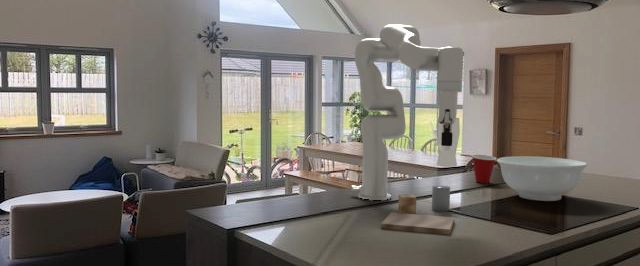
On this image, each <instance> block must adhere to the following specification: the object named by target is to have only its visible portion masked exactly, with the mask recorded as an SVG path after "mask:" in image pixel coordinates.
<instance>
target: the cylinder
mask: <svg viewBox="0 0 640 266" xmlns="http://www.w3.org/2000/svg"><path fill="white" fill-rule="evenodd" d="M431 190H432V191H431V195H432V196H431V210H432V211H434V212H439V213H442V212H443V213H445V212H450V203H451V198H450V197H451V187H450V186H448V185H440V184H439V185H432V189H431Z"/></svg>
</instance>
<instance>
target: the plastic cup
mask: <svg viewBox="0 0 640 266" xmlns="http://www.w3.org/2000/svg"><path fill="white" fill-rule="evenodd" d="M471 157H472V163H473V171H474V176H475V177H474V178H475V183H477V182H480V183H479V184H489V183H490V181H491V177H492V173H493V168H494V164H495V162H496V161H497V159H498V158H497V157H495V156H491V155H485V154H471ZM488 182H489V183H488Z"/></svg>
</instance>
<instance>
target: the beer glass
mask: <svg viewBox="0 0 640 266" xmlns="http://www.w3.org/2000/svg"><path fill="white" fill-rule="evenodd" d="M438 118H439V116H438V117H437V119H438ZM444 119H445V118H444ZM444 122H445V121H444ZM440 123H441V124H439V123H438V121H437V123H436V141H437V142H436V143H437V148H438V149H437V150H438V158H437V162H436V165H437V166H439V167H445V168H447V167H448V168H453V167H457V166H458V164H457V149H458V144H459V140H460V132H461V131H460V130H461V129H460V128H461V127H460V126H461V125H460V117H456V118H455V122H454V124H452V133H453V134H452V146H442V145H441V139H442V129H443V121H442V122H440ZM449 123H451V121H449Z"/></svg>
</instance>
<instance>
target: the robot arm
mask: <svg viewBox="0 0 640 266" xmlns="http://www.w3.org/2000/svg"><path fill="white" fill-rule="evenodd" d="M420 36H421V35H420V32H419V30H418V29H417V28H416V27H415V26H413V25H410V24H409V25H408V24H407V25H406V24H394V23H393V24H387V25H384V27H383V28H381V30H380V32H379V37H378V38H373V37H371V38H364V39H361V40H360V41H359V42H357V44H356V46H355V48H354V49H355V50H354V62H355V66H356V70H357V72H358V76H359V85H360V95H361V104H362V107H363V109H364V110H365V111H368V112H386V114H370V115H367V116H365V117H363V118H362V119H361V122H360V133H361V140H362V179H361V181H362V183H361V185H359V186H358V185H351V191H352V192H358V193H357V198H358V199H360V198H362V199H361V200H364V199H369V200H368V201H373V200H381V201H388V200H391V199H392V195H391V194H390V193H388V179H389V178H388V175H389V174H388V173H389V171H388V170H389V169H388V168H389V150H388V148H387V146H386V144H385V142H384V141H385V140H386V141H388V140H399V139H401V138H403V137H404V135H405V134H406V133H405V132H406V116H405V105H404V99H403V94H402V93H401V91H400V90H399V89H398V88H397V87H395V86H384V83H383V75H382V72H381V71H380V68H379V66H377V64H376V63H375V62H380V63H381V62H382V63H384V62H385V63H395V62H398V61H400V62H401V63H402V64H403V65H404V66H406V67H408V68H410V69H412V70H414V71H418V72H419V71H420V72H424V71H425V72H437V80H436V82H437V83H436V92H438V93H439V101H438V103H439V104H438V117H439V118H438V117H437V122H438V123H439V124H441V123H440V122H442V121H443V129H442V139H441V145H442V146H452V134H453V133H452V124H454V122H455V118H457V112H458V96H459V95H458V93H462V91H463V71H464V70H463V67H464V66H463V65H464V50H463V48H461V47H459V46H444V47H432V46H431V47H430V46H421V45H422V44H421V39H420ZM444 118H445V119H444ZM444 121H445V122H444ZM449 121H451V123H449ZM390 198H391V199H390ZM387 199H388V200H387Z"/></svg>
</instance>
